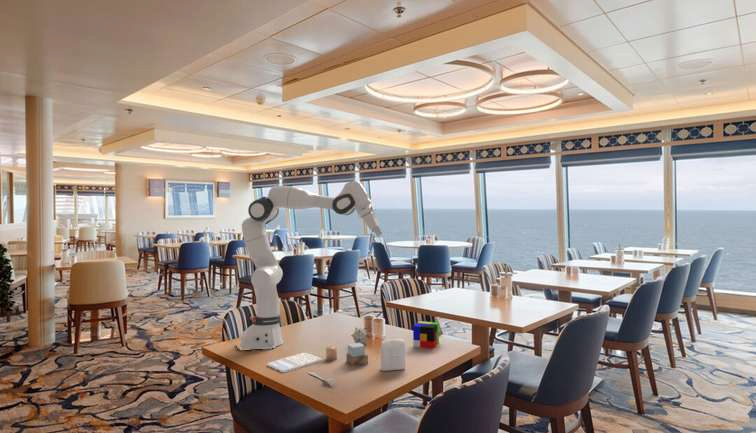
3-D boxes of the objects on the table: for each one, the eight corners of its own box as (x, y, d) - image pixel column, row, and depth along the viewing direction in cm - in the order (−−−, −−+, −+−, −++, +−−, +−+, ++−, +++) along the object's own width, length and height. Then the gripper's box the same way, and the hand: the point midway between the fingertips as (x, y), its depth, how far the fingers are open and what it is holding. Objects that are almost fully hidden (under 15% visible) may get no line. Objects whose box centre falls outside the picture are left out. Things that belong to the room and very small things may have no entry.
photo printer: (403, 366, 182) (403, 336, 182) (406, 369, 178) (406, 339, 178) (379, 368, 180) (379, 338, 180) (382, 372, 176) (381, 341, 175)
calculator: (322, 362, 190) (322, 358, 190) (283, 374, 175) (283, 369, 175) (304, 355, 199) (304, 351, 199) (265, 366, 185) (265, 362, 185)
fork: (312, 378, 177) (312, 371, 177) (339, 388, 160) (339, 380, 161) (306, 379, 175) (306, 372, 175) (333, 390, 159) (332, 382, 159)
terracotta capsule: (328, 361, 189) (328, 349, 189) (324, 358, 193) (324, 347, 193) (338, 359, 191) (338, 348, 191) (334, 356, 195) (334, 345, 195)
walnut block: (352, 367, 182) (352, 357, 182) (346, 362, 188) (346, 353, 188) (368, 364, 185) (367, 355, 185) (361, 359, 192) (361, 350, 192)
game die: (363, 350, 215) (374, 333, 218) (360, 349, 207) (372, 331, 210) (348, 340, 218) (359, 323, 220) (345, 339, 210) (357, 321, 212)
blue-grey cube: (353, 357, 183) (352, 347, 183) (348, 353, 188) (347, 344, 188) (364, 355, 185) (364, 345, 185) (359, 351, 190) (359, 342, 190)
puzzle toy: (413, 346, 209) (413, 325, 209) (419, 341, 218) (419, 321, 218) (433, 348, 205) (433, 327, 205) (438, 343, 214) (438, 322, 214)
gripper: (362, 213, 223) (375, 237, 223) (358, 214, 203) (372, 240, 203) (373, 207, 223) (386, 231, 223) (370, 207, 203) (384, 233, 202)
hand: (379, 235), depth 212 cm, fingers open, 8 cm apart
